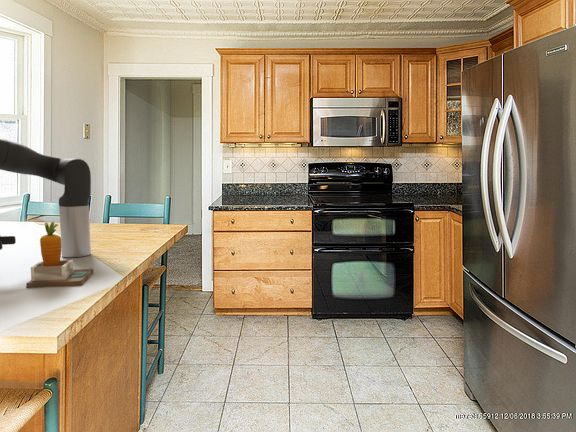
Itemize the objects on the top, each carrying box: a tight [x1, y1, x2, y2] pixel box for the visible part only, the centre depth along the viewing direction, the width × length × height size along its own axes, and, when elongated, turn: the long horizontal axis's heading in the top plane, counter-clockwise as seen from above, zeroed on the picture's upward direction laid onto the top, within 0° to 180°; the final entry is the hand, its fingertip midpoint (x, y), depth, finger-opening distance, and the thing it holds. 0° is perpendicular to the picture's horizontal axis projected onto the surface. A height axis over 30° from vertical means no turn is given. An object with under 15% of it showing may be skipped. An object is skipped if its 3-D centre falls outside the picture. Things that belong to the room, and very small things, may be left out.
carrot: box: [39, 221, 62, 266], centre depth 121 cm, size 5×5×15 cm
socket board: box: [25, 259, 94, 289], centre depth 123 cm, size 14×13×5 cm
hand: (8, 242), depth 119 cm, fingers open, 8 cm apart
